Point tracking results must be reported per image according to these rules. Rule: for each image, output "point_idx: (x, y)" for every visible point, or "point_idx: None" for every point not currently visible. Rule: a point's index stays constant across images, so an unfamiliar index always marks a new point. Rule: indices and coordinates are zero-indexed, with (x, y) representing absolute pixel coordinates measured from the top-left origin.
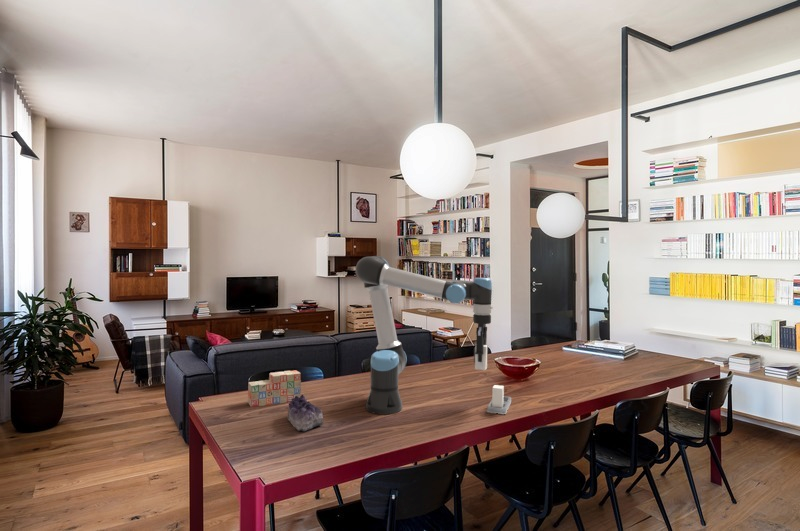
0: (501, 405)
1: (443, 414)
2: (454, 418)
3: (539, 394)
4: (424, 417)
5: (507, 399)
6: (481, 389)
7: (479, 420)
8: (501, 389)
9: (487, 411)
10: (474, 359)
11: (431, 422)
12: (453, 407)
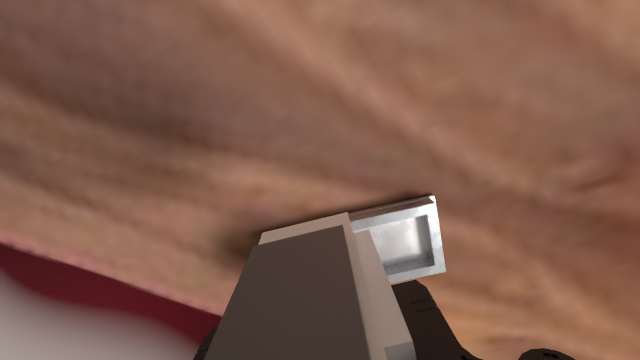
0: None
1: (116, 99)
2: (111, 160)
3: (595, 313)
4: (23, 47)
5: (430, 255)
6: (563, 78)
7: (162, 244)
8: None
9: (261, 235)
10: (248, 274)
11: (3, 105)
12: (224, 92)
